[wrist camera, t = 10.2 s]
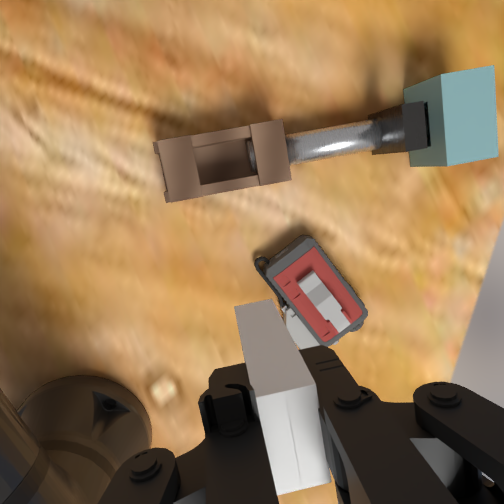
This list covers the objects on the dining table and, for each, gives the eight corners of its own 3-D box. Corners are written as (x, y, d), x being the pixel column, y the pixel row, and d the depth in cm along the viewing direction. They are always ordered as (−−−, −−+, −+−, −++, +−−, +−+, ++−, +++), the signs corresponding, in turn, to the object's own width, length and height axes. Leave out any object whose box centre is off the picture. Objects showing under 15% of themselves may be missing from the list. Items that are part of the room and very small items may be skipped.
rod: (251, 177, 43) (260, 178, 35) (244, 137, 42) (252, 130, 34) (435, 143, 44) (480, 138, 37) (432, 104, 43) (478, 91, 36)
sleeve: (169, 200, 43) (165, 203, 38) (157, 144, 41) (151, 141, 37) (282, 178, 43) (291, 180, 39) (274, 124, 42) (282, 118, 38)
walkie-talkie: (236, 270, 45) (338, 395, 50) (240, 281, 41) (351, 417, 46) (300, 221, 45) (396, 351, 50) (310, 226, 41) (414, 368, 45)
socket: (410, 166, 45) (447, 166, 38) (403, 89, 43) (440, 74, 36) (454, 158, 45) (498, 156, 38) (448, 81, 43) (494, 65, 37)
